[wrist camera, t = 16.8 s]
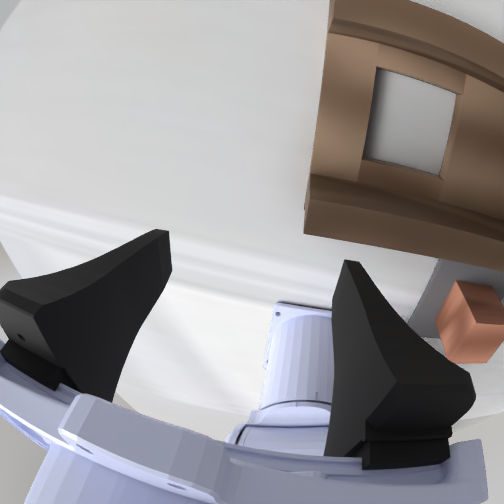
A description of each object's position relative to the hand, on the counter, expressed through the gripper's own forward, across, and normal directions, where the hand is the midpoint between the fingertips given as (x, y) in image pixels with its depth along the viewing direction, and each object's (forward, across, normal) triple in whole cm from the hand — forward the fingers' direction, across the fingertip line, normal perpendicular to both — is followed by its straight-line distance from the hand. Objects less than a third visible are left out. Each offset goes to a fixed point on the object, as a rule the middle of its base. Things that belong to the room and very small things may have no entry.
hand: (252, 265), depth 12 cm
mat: (+9, -18, +7) cm, 21 cm away
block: (+9, -18, +7) cm, 21 cm away
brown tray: (+9, -13, -6) cm, 18 cm away
